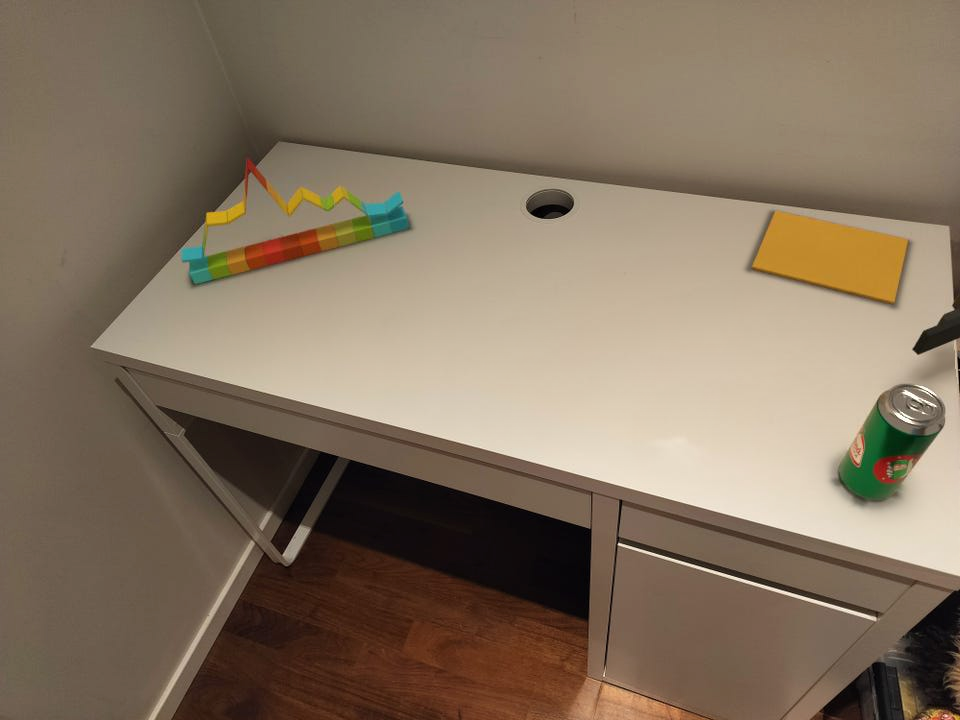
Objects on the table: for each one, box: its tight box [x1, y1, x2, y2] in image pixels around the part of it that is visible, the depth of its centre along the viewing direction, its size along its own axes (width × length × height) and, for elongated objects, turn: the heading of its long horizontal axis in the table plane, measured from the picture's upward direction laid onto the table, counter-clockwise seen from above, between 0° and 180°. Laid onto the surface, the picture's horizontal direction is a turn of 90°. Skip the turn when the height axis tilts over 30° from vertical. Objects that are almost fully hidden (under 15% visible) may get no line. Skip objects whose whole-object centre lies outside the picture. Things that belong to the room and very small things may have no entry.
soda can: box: [838, 383, 946, 501], centre depth 59 cm, size 5×5×12 cm
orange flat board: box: [751, 210, 909, 305], centre depth 84 cm, size 16×12×1 cm
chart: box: [181, 156, 410, 285], centre depth 89 cm, size 30×3×15 cm, turn 106°
